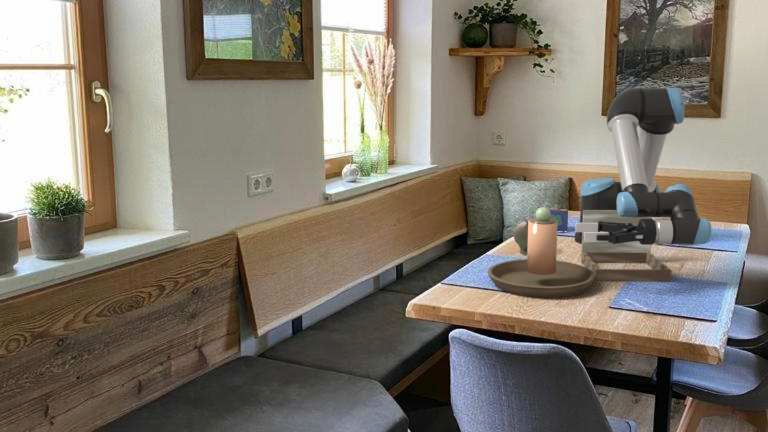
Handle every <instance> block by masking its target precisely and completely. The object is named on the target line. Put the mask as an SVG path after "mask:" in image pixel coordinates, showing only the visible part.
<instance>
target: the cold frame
mask: <svg viewBox="0 0 768 432" xmlns="http://www.w3.org/2000/svg"><path fill="white" fill-rule="evenodd" d="M641 219H653V217H636V218H631V217H621V216H620V215H619V214H618V212H617V210H583V223H598V221H604V222H616V223H632V224H633V226H638V223H639V221H640V220H641ZM600 232H602V231H600ZM608 235H609V232H608ZM651 248H652V245H642V244H640V242H639V241H633V242H625V243H618V244H613V243H612V242H611V243H610V242H584V232H582V243H581V257H580V258H581V259H580V261H581V265H582V266H584V267H586V268H588V269H590V270H591V271H592V272H593V273H594V275H595V278H594V280H593V281H595V282H631V283H632V282H639V283H640V282H641V283H642V282H644V283H645V282H648V283H651V282H652V283H654V282H655V283H657V282H658V283H665V282H667V283H670V282H671V280H672V270H671V268H669V267H668V266H666V265H665V264H664V263H663V262H662V261H661V260H660V259H659V258H657V257H656V256H655V255H653V254H652V253H651ZM597 264H647V265H648V266H649V267H650V268H646V269H645V268H643V269H642V268H638V269H637V268H636V269H635V268H627V269H626V268H599V267H598V266H597Z"/></svg>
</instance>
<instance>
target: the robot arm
mask: <svg viewBox="0 0 768 432" xmlns="http://www.w3.org/2000/svg"><path fill="white" fill-rule="evenodd" d="M684 118H685V100H684V96H683V93H682V91H681V90H680V89H679V88H677V87H668V86H667V87H645V88H644V87H640V88H639V87H633V88H628V89H625V90H624V91H621V92H620V93H619V94H617V96H616V97H615V98H614V99H613V100H612V102H611V103H610V105H609V108H608V110H607V114H606V124H607V128H608V130H609V132H610V133H611V134H612V139H613V145H614V151H615V157H616V163H617V168H618V169H617V170H618V175H619V179H620V180H619V181H616V180H615V178H614V177H596V178H591V179H587V180H585V181H584V182H582V184H581V190H580V211H579V212H580V213H579V214H580V215H579V217H580V218H579V222H575V234H574V241H575V242H576V243H579V244H582V232H584V242H610V243H611V242H612V243H613V244H618V243H625V242H633V241H639V242H640V244H642V245H651V246H652V245H654V244H655V245H661V247H666V245H679V244H683V245H692V246H694V245H704V244H708V243H709V241H710V240H711V237H712V224H711V222H710V220H709V219H708V218H704V217H700V216H699V214H698V211H697V208H696V207H697V206H696V202H695V198H694V196H693V193H692V190H691V188H690V187H689V186H687V185H685V184H682V183H677V184H675V185H670V186H668V187H667V188H666V189H665V191H663V192H662V191H660V188H659V185H658V183H657V182H656V180H655V175H656V172H657V169H658V165H659V163H660V158H661V156H662V152H663V148H664V146H665V145H664V144H665V141H666V138H667V136H668V134H670V133H671V132H672V131H673V130H674V128H675V125H679V124H682V123H683V121H684ZM638 127H639V133H638V129H637V128H638ZM583 210H617V212H618V214H619V215H620V216H621V217H631V218H636V217H652V219H641V220H640V221H639V223H638V226H633V224H632V223H616V222H604V221H598V223H583ZM665 217H668V219H662V218H665ZM653 218H654V219H653ZM669 218H671V219H669ZM600 231H602V232H600ZM608 232H609V235H608Z"/></svg>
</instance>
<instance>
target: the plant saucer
mask: <svg viewBox="0 0 768 432" xmlns="http://www.w3.org/2000/svg"><path fill="white" fill-rule="evenodd" d="M487 275H488V277H489V279H490V281H492V282H493V283H494V284H495V286H496V287H497V288H498V289H500V290H501V291H504V292H506V293H510V294H515V295H518V296H525V297H530V298H531V297H533V298H534V297H535V298H562V297H570V296H574V295H578V294H581V293H583V292H584V291H585V290H586V289H587V288H588V287H589V286H591V285H592V284H593V282H594V281H595V280H594V278H595V275H594V273H593V272H592V271H591V270H590V269H588V268H586V267H585V266H584V265H582V264H577V263H574V262H568V261H562V260H557V259H556V272H555V273H553V274H549V275H537V274H532V273H529V272H528V271H527V258H522V259H514V260H513V259H512V260H507V261H502V262H499V263H496V264H494V265H492V266H490V267H489V268H488V271H487Z"/></svg>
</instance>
